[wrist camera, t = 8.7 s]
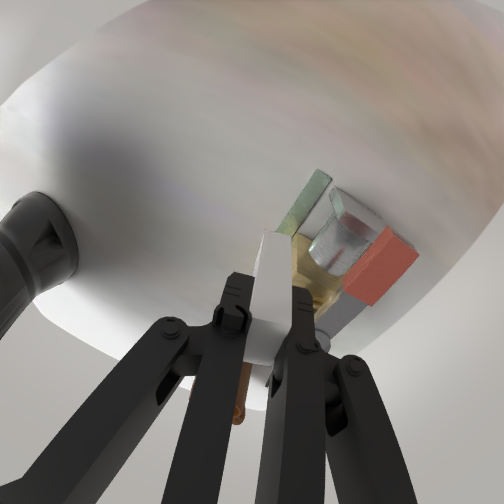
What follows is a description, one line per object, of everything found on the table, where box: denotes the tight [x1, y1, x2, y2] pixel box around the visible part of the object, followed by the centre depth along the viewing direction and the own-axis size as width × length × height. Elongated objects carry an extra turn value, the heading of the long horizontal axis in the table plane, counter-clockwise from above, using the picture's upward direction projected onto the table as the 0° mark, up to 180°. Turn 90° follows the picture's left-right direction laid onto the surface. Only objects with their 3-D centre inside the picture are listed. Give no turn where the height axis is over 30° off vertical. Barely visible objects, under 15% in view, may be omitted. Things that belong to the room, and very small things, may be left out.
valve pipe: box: [273, 169, 386, 365], centre depth 25 cm, size 9×20×9 cm, turn 153°
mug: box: [189, 361, 252, 425], centre depth 36 cm, size 12×8×9 cm, turn 22°
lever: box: [314, 226, 419, 353], centre depth 19 cm, size 13×4×2 cm, turn 153°
